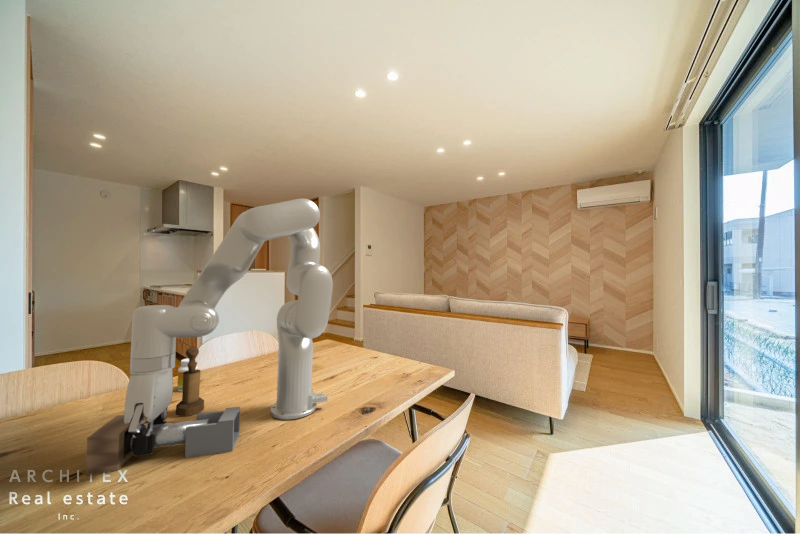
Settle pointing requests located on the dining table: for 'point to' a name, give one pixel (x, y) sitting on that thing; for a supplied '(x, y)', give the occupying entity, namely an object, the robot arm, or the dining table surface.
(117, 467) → the socket block
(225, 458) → the dining table surface
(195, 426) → the sleeve
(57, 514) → the dining table surface
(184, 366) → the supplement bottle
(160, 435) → the slip tube
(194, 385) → the brown wooden upright piece
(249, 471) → the dining table surface
